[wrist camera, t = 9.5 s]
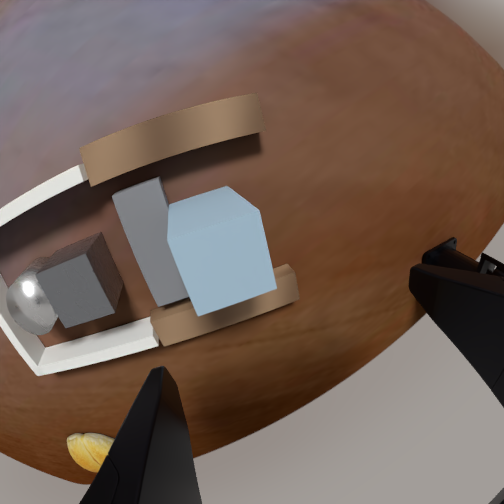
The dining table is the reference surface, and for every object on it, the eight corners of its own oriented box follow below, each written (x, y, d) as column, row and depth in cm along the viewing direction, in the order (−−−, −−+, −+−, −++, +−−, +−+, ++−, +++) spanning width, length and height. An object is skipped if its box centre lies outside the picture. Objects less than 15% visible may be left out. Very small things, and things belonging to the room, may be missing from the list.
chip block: (101, 231, 16) (85, 253, 13) (123, 281, 18) (115, 312, 15) (56, 250, 16) (35, 275, 12) (79, 296, 17) (65, 328, 14)
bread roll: (141, 456, 27) (143, 480, 24) (88, 456, 25) (87, 478, 22) (116, 428, 24) (116, 456, 20) (58, 428, 22) (54, 452, 18)
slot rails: (250, 96, 16) (257, 92, 14) (292, 289, 22) (299, 299, 21) (86, 147, 14) (79, 148, 13) (163, 334, 20) (164, 346, 19)
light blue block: (219, 156, 17) (248, 164, 11) (248, 264, 20) (283, 319, 14) (116, 191, 16) (85, 220, 9) (158, 295, 19) (158, 361, 13)
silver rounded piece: (56, 250, 16) (34, 274, 12) (79, 297, 17) (64, 328, 14) (20, 265, 15) (-3, 290, 11) (42, 309, 17) (25, 339, 13)
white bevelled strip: (90, 161, 14) (78, 164, 12) (158, 325, 20) (158, 345, 18) (-26, 230, 12) (-43, 240, 10) (44, 357, 18) (37, 376, 16)
